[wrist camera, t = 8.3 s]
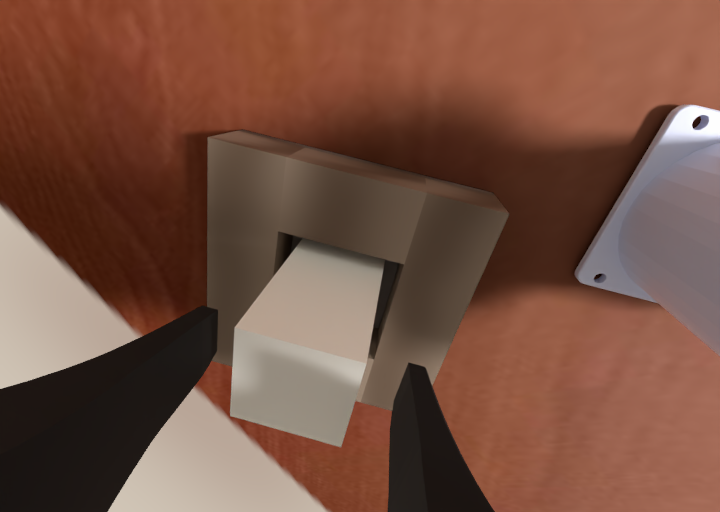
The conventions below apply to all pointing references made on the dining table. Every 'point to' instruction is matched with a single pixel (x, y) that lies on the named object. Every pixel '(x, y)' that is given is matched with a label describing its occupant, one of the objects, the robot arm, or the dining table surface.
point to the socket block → (348, 243)
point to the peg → (307, 342)
